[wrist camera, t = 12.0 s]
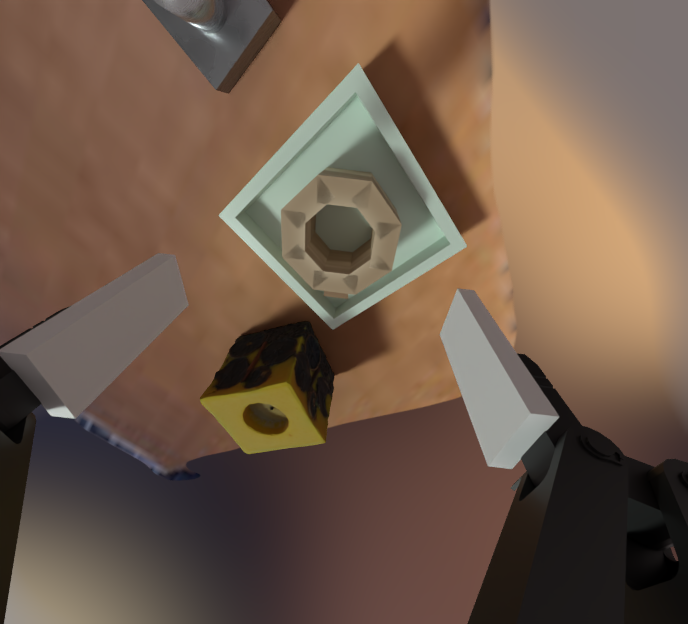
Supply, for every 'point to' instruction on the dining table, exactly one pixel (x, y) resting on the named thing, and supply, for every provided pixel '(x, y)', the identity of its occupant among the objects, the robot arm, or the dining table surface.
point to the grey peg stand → (218, 33)
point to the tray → (340, 221)
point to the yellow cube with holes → (273, 390)
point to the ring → (333, 265)
